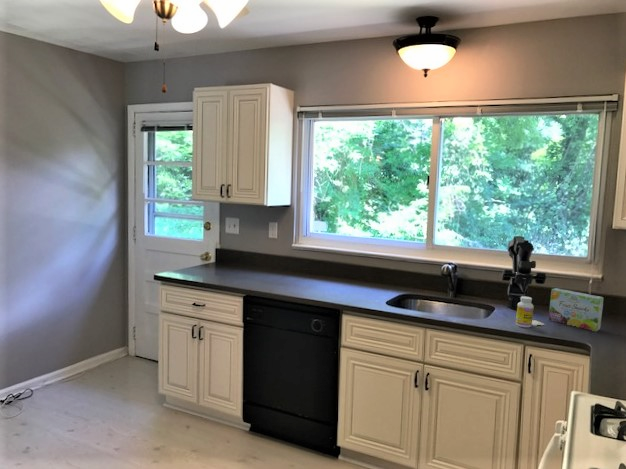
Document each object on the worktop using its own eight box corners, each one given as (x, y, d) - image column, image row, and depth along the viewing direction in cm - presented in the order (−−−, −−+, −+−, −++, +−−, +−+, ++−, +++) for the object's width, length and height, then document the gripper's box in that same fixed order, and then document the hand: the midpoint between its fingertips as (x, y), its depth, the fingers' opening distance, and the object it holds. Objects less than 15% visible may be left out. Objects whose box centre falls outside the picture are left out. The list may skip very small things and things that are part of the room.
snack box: (547, 320, 252) (550, 289, 250) (552, 318, 256) (555, 287, 254) (596, 332, 237) (600, 298, 235) (600, 329, 241) (604, 296, 239)
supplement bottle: (521, 328, 237) (524, 299, 236) (512, 323, 243) (515, 295, 242) (534, 327, 239) (537, 299, 237) (525, 323, 245) (527, 295, 244)
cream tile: (535, 321, 249) (535, 320, 249) (544, 325, 244) (544, 323, 244) (524, 322, 247) (524, 320, 247) (533, 325, 242) (533, 324, 242)
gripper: (504, 252, 253) (504, 280, 244) (547, 255, 249) (549, 284, 239) (501, 266, 262) (501, 293, 252) (543, 269, 257) (544, 297, 248)
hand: (524, 291), depth 248 cm, fingers closed
